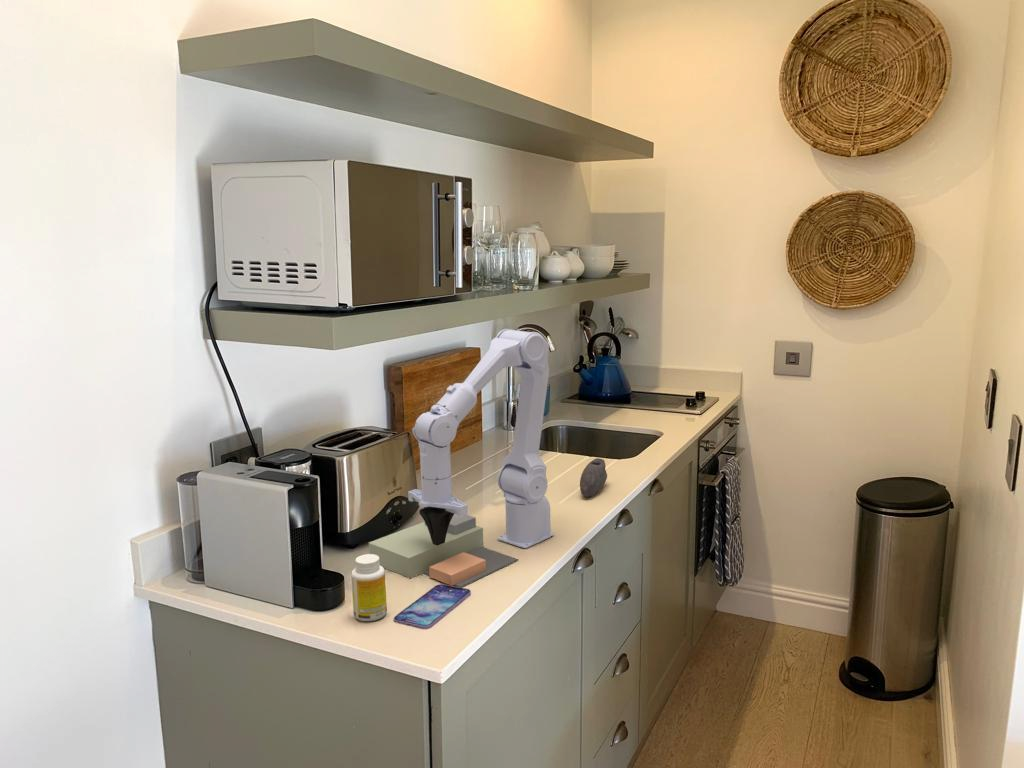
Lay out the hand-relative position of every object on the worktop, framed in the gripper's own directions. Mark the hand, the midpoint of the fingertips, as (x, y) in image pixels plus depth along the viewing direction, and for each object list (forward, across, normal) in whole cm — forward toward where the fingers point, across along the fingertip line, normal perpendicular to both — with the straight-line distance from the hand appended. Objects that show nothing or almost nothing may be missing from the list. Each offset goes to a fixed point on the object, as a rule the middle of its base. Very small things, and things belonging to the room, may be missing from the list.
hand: (438, 543), depth 153 cm
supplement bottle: (+5, +5, -21) cm, 22 cm away
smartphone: (+6, +11, -12) cm, 17 cm away
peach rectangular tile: (+3, +5, 0) cm, 6 cm away
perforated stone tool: (+5, -4, +55) cm, 56 cm away
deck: (+5, -7, +3) cm, 9 cm away
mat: (+5, +5, +4) cm, 8 cm away
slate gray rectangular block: (+1, -7, +10) cm, 12 cm away
